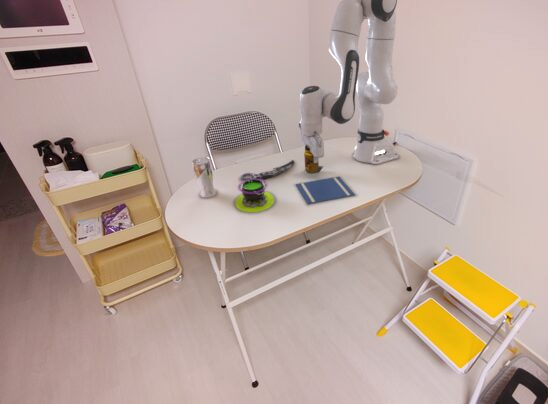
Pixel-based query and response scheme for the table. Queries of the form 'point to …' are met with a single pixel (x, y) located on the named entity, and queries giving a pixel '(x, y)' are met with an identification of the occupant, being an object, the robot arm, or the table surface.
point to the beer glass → (204, 176)
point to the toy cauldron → (254, 196)
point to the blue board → (324, 190)
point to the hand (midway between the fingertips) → (312, 158)
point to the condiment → (310, 163)
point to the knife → (268, 172)
